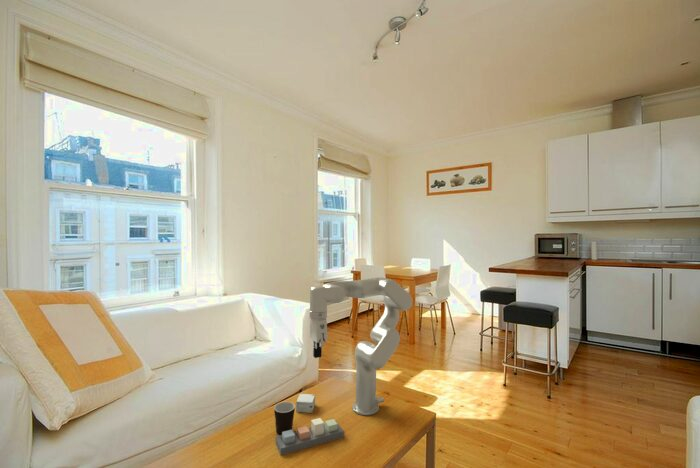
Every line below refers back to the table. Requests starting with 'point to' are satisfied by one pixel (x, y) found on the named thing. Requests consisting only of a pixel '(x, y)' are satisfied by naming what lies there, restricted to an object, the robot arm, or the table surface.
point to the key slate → (288, 437)
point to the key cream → (317, 426)
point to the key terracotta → (303, 433)
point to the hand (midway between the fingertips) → (317, 356)
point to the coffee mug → (284, 416)
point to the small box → (305, 403)
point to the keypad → (308, 440)
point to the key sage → (330, 425)
